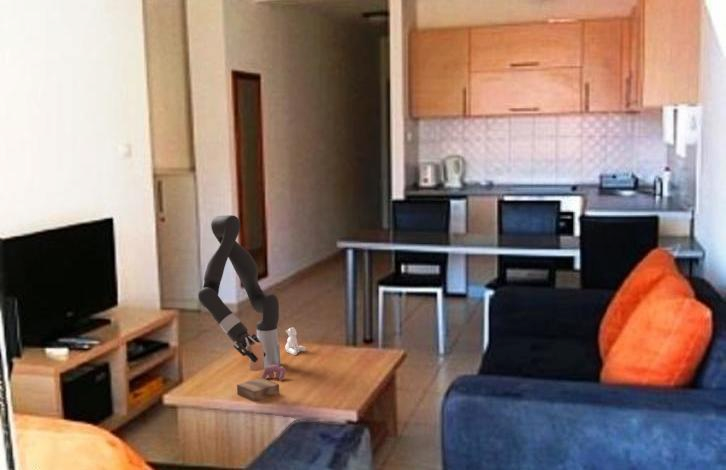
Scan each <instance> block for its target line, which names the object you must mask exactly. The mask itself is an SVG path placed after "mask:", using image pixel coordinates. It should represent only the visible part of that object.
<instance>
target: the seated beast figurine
mask: <svg viewBox="0 0 726 470" xmlns="http://www.w3.org/2000/svg"><path fill="white" fill-rule="evenodd" d="M285 333H286V334H287V335H288V338H287V340H286V341H287V342H286V344H285V346H284V349H285V351H286V352H287V353H288V354H290V355H292V356H296V355H298V353H300V352H306V347H305V346H303V345H299V344H298V339H297V330H296V328H295V327H290V328H288V329H285Z"/></svg>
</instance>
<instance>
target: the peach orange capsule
mask: <svg viewBox="0 0 726 470" xmlns="http://www.w3.org/2000/svg"><path fill="white" fill-rule="evenodd" d="M249 345H250V349H251V351H252V352H253V353H254V355H255V356H256V357H257V358H258V360H257V361H256V362H255V363H254V362H253V361H252V360H251V359H250V358H249V357H248V359H249V364H248V365H249V367H248V368H249V370H250V371H251V372H252V371H253V372H260V371H264V369H265V368H264V349H263V343H251V344H249ZM252 352H251V353H252Z"/></svg>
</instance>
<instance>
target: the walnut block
mask: <svg viewBox="0 0 726 470" xmlns="http://www.w3.org/2000/svg"><path fill="white" fill-rule="evenodd" d="M236 390H237V391H236V392H237V395H238V396H241V397H243V398H245V399H247V400H250V401H253V402H258V401H261V400H263V399H267V398H271V397H274V396H276V395H277V396H278V395H280V384H279V383H277V382H275V381H271V380H270V379H269V380H268V379H267V378H265V379H264V378H262V377H259V378H255V379H252V380H249V381H245V382H242V383H239V384H236Z"/></svg>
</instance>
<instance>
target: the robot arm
mask: <svg viewBox="0 0 726 470" xmlns="http://www.w3.org/2000/svg"><path fill="white" fill-rule="evenodd" d="M210 227H211V231H212V233H213V235H214V238H216V240H217V242H218V243H219V246H218V247H217V249H216V251H215V252H214V253H213V254H212V255H211V258H209V261H208V262H207V265H206V270H205V271H204V272H205V273H204V278H203V282H204V283H203V286H202V288H201V289H200V290H199V291H198V294H197V295H198V296H197V298H198V301H199V302H200V305H201V306H202V307H204V308H206V309H207V311H208V312H209V313H210V314H211V316H212V318H213V319H214V320H215V321H216V322H217V324H218V325H219V326H220V327H221V329H222V330H223V332H224V333H225V334H226V335H227V337H228V338H229V339H230V340H231V341H232V342H233V343H234V345H233V347H234V349H235V350H237V352H238V353H240V354H241V355H242V357H248V359H249V358H250V359H251V360H252V361H253V362H254V363H255V362H256V361H257V360H258V358H257V357H256V356H255V355H254V353H253V352H252V351H251V349H250V345H249V344H251V343H263V349H264V369H265V368H266V367H267V366H269V365H279V366H281V347H280V344H279V341H278V338H279V337H278V323H279V318H280V316H279V314H280V313H279V311H280V309H279V308H280V305H279V304H280V303H279V300H278V297H277V296H276V295H275V294H273V293H267V292H264V291H263V289H262V287H261V285H260V284H259V282H258V278H259V277H258V276H259V269H258V266H257V263H256V261H255V260H254V258H253V256H252V255H251V253H250V252H249V251H248V250H247V249H245V247H243V246H242V245H241V244H240V243H238V242H237V238H238V236H239V233H240V230H241V221H240V219H239V218H238V216H236V215H232V214H230V215H218V216H214V217H213V218H212V220H211V223H210ZM228 260H229V261H230V263H231V265H232V267H233V269H234V271H235V273H236V275H237V277H238V278H239V280H240V282H241V285H242V286H243V289H244V290H245V292H246V294H247V297H248V299H249V300H248V301H249V302H250V304H251V307H252V309H253V310H254V311H255V312H256V313H260V314H262V318H261V319H262V320H259V321H258V322H256V325H255V326H256V327H255V328H256V334H255V333H253V334H249V333H248V328H247V327H246V326H245V325H244V323H243V322H242V321H241V320H240V319H239V317H238V316H236V314H234V312H232V310H231V309H230V308H229V307H228V306H227V304H225V303H224V302H223V300H222V299H221V298H220V296H219V292H220V288H221V287H220V286H221V282H222V279H223V277H224V276H223V275H224V272H225V267H226V264H227V262H228ZM251 352H252V353H251Z"/></svg>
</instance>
